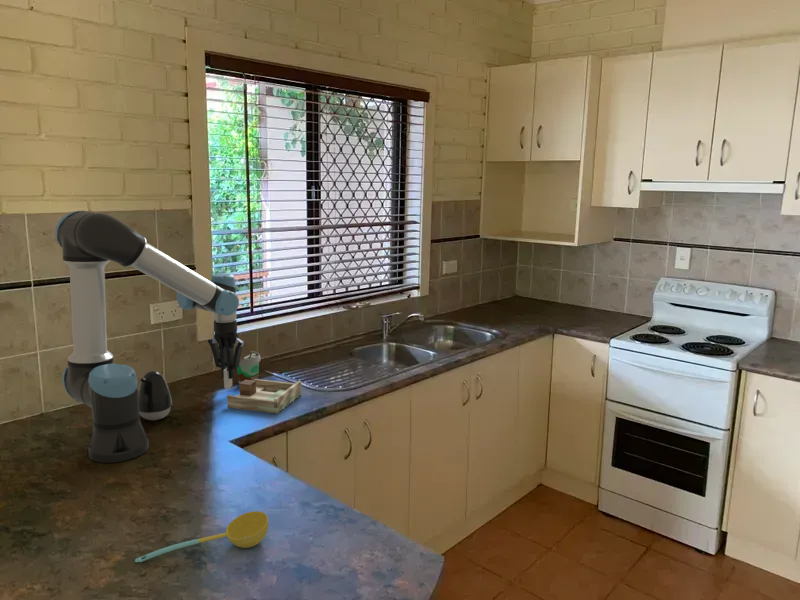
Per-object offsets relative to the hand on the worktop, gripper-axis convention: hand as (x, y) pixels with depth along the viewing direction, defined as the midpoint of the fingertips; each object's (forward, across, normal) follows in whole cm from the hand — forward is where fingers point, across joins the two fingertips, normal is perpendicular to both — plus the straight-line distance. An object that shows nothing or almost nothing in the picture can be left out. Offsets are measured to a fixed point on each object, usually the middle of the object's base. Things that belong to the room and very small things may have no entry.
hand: (228, 387), depth 211 cm
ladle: (+4, -42, +79) cm, 89 cm away
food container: (+4, 0, -16) cm, 16 cm away
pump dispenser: (+4, +12, +23) cm, 26 cm away
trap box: (+3, -14, 0) cm, 14 cm away
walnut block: (+1, -8, 0) cm, 8 cm away
